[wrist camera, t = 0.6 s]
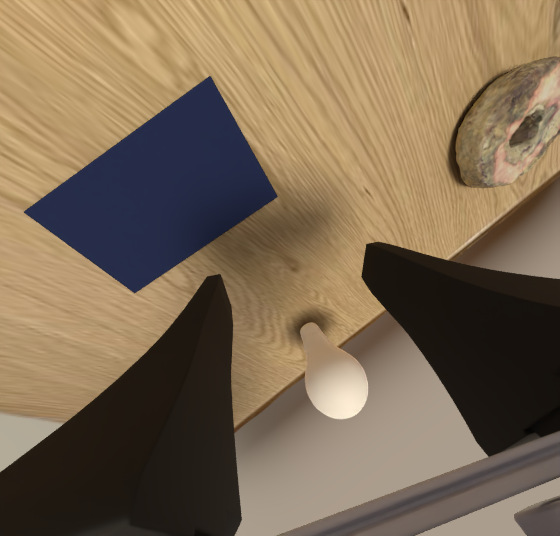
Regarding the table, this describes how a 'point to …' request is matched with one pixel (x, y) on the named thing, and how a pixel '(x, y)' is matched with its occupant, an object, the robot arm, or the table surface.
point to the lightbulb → (332, 376)
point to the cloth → (160, 191)
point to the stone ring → (510, 125)
